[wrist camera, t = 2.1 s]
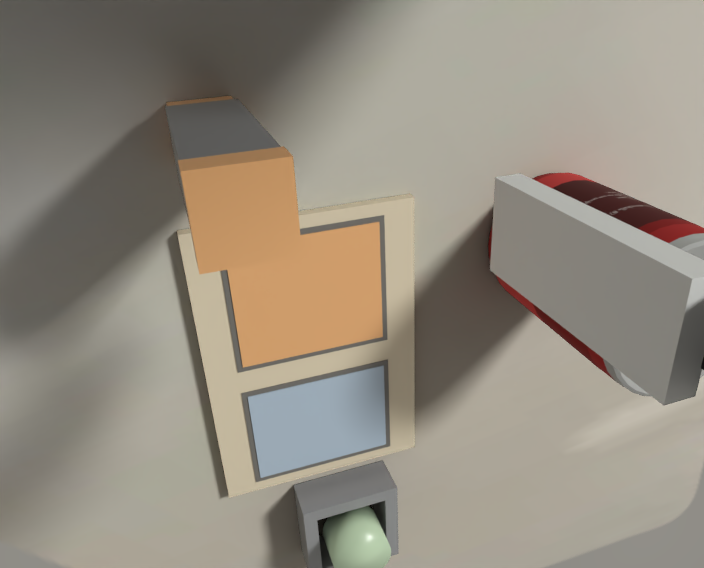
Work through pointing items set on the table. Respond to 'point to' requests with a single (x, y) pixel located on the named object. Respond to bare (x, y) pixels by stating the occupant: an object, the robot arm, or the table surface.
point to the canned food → (629, 212)
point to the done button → (356, 540)
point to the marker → (233, 185)
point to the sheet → (312, 346)
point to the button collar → (345, 506)
